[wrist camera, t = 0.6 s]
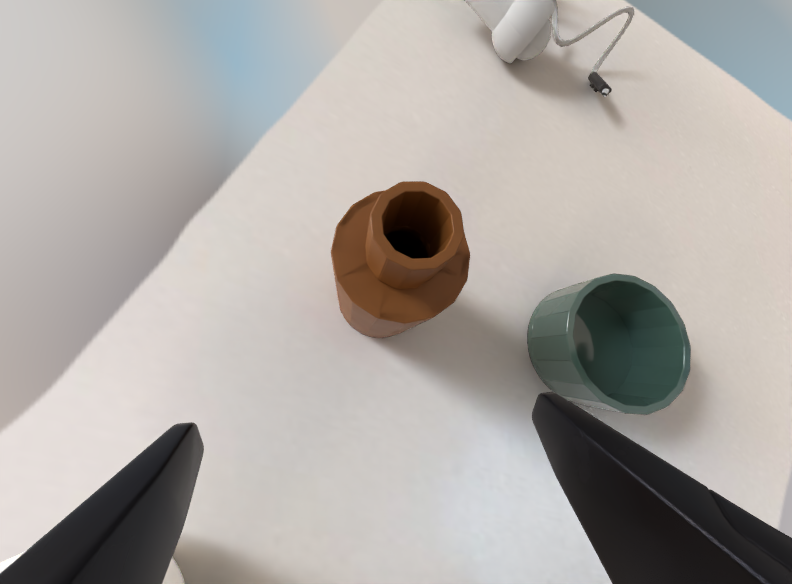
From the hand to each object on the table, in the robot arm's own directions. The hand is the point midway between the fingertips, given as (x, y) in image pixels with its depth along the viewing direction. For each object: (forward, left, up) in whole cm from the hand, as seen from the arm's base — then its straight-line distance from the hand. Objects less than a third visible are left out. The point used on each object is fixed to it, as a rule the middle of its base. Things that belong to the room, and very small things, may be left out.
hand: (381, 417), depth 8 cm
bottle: (+4, -5, -14) cm, 15 cm away
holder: (-8, -16, -14) cm, 22 cm away
